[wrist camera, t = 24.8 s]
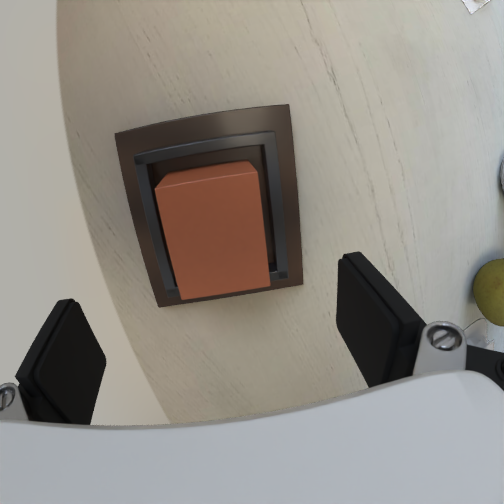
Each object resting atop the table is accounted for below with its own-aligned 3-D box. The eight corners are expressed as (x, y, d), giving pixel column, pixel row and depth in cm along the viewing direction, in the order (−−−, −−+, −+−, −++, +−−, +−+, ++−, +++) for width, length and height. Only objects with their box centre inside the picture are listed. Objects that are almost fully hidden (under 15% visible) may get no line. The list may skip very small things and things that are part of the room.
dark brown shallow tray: (118, 132, 19) (107, 135, 17) (285, 104, 20) (294, 103, 18) (159, 301, 25) (155, 318, 23) (300, 278, 26) (308, 294, 24)
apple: (490, 300, 31) (522, 329, 25) (454, 304, 30) (489, 340, 24) (509, 248, 28) (547, 274, 22) (475, 246, 27) (518, 276, 21)
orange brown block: (167, 172, 20) (154, 188, 15) (247, 159, 20) (257, 171, 16) (187, 263, 23) (181, 300, 18) (259, 252, 23) (270, 286, 19)
